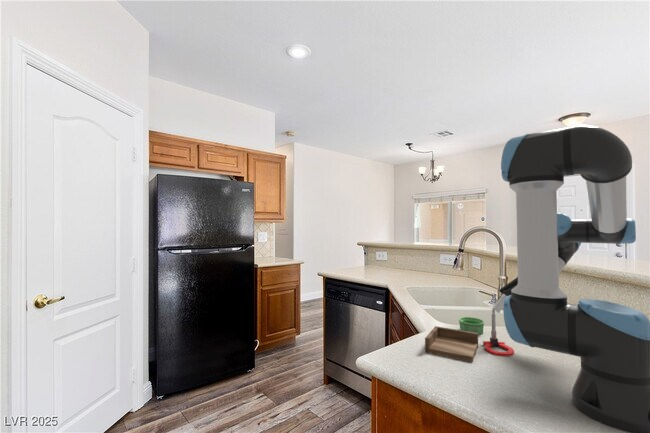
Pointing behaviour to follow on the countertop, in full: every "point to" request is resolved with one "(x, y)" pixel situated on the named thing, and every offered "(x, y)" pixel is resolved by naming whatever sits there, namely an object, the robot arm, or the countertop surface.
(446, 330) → the wooden tray
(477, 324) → the ramekin
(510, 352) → the tow hook
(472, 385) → the countertop surface
